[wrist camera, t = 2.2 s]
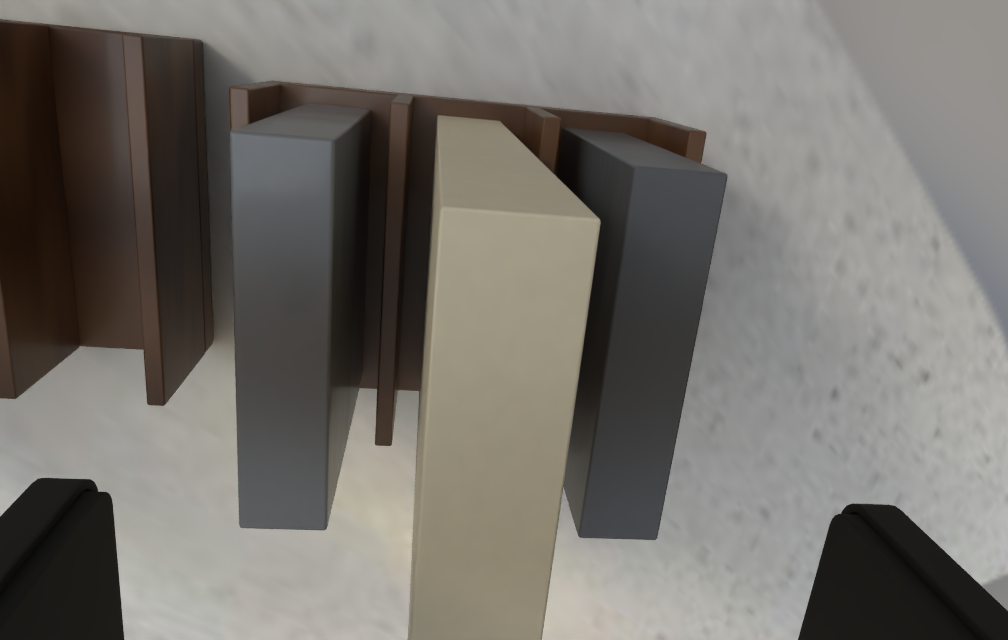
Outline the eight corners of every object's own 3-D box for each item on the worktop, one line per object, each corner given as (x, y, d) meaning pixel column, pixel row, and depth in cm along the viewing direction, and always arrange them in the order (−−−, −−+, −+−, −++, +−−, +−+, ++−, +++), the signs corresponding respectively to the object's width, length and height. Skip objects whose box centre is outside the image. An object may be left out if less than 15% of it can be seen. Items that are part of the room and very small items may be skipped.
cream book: (437, 115, 23) (440, 206, 9) (500, 120, 23) (602, 218, 9) (419, 378, 26) (402, 761, 12) (476, 381, 26) (525, 761, 12)
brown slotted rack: (270, 80, 23) (158, 95, 14) (655, 117, 25) (792, 155, 15) (272, 372, 26) (182, 546, 17) (612, 389, 28) (702, 558, 18)
